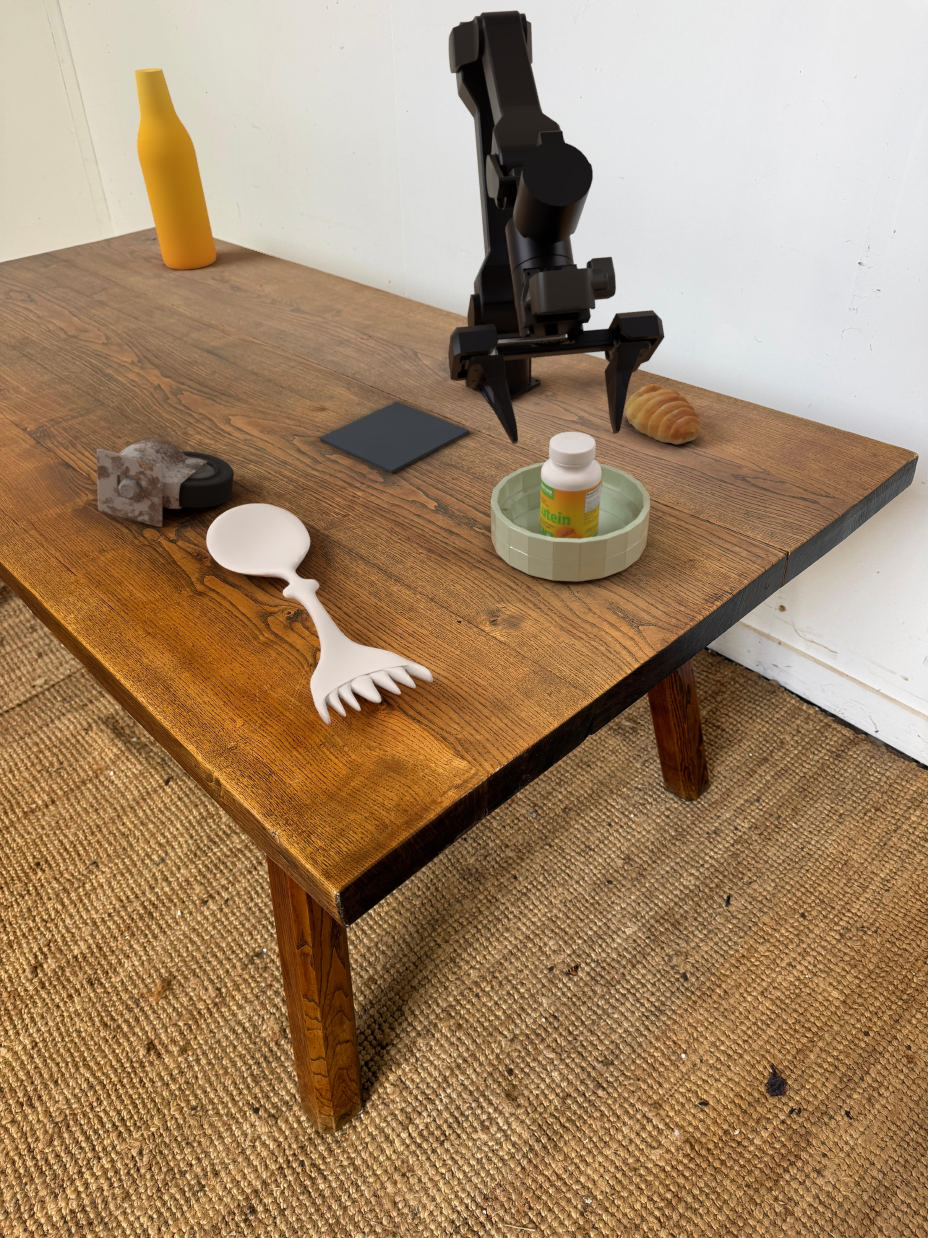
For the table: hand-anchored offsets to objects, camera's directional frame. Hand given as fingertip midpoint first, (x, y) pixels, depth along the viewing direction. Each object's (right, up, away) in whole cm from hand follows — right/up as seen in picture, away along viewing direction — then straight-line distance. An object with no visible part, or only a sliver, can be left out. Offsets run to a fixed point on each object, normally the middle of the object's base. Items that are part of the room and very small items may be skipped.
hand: (566, 437), depth 78 cm
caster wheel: (-39, -4, +13) cm, 41 cm away
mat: (-17, +5, +22) cm, 28 cm away
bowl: (+1, -9, +4) cm, 10 cm away
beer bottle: (-57, +47, +77) cm, 107 cm away
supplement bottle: (+1, -9, +4) cm, 10 cm away
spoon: (-23, -16, -3) cm, 28 cm away
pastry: (+13, +5, +21) cm, 26 cm away
